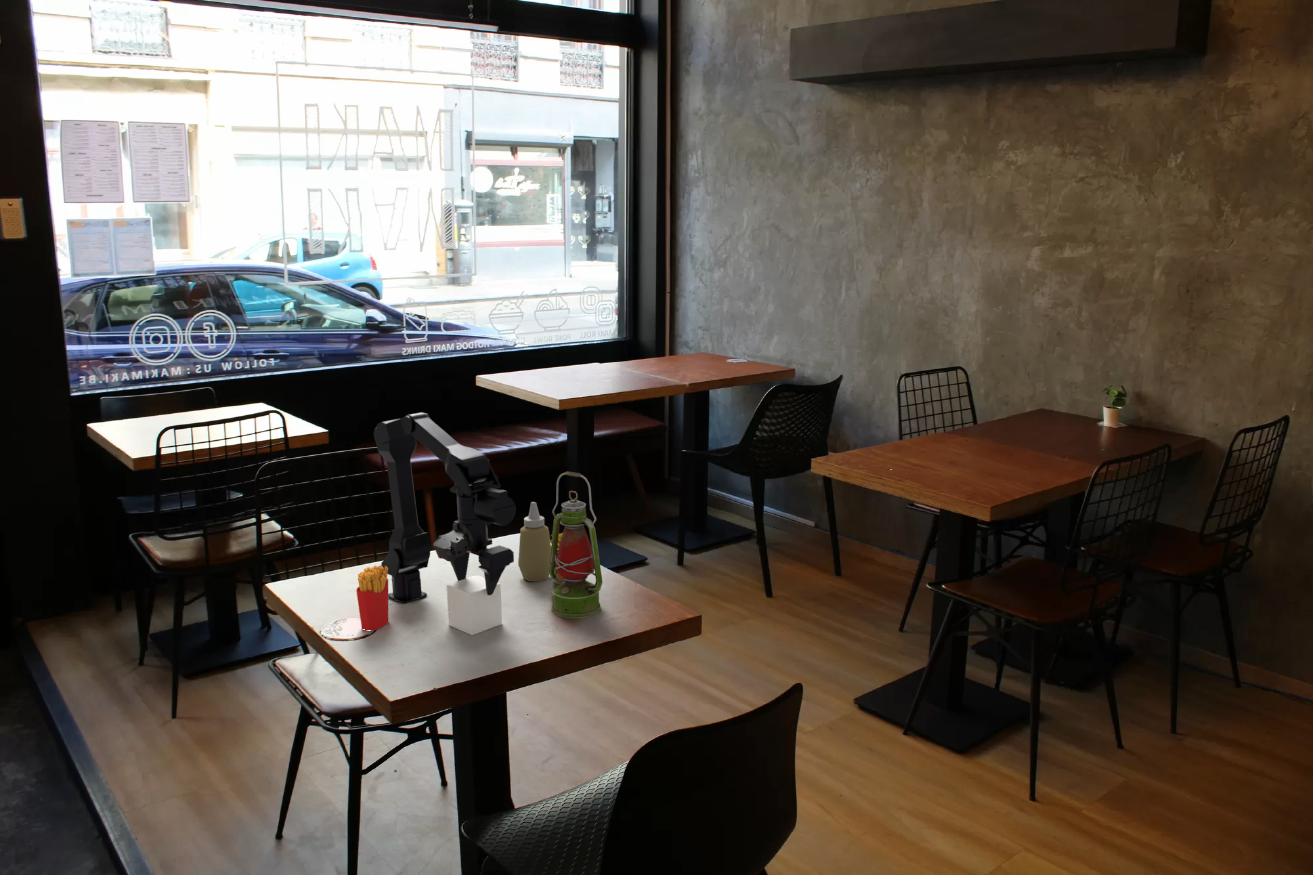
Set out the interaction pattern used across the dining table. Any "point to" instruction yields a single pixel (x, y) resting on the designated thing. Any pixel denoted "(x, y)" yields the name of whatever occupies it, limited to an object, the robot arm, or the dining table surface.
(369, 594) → the french fries
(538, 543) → the squeeze bottle
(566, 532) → the lantern
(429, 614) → the dining table surface
